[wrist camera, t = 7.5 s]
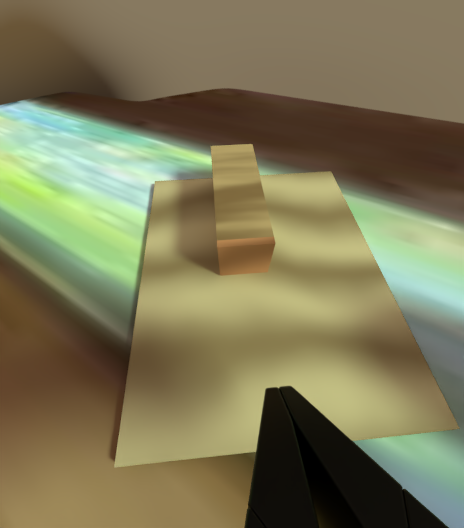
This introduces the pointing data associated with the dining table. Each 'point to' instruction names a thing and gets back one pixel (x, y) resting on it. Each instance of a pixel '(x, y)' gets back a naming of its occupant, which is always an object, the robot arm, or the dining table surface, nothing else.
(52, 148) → the dining table surface
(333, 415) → the board
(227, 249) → the block
